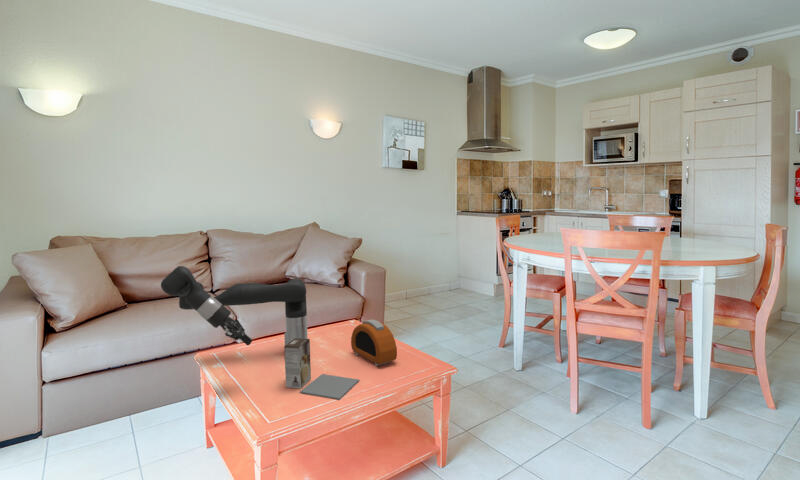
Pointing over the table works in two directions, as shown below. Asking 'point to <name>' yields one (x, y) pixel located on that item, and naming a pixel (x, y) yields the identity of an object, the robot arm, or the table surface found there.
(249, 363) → the table surface
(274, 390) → the table surface
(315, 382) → the mat
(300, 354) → the coffee box
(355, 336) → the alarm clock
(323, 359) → the table surface
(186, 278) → the robot arm
